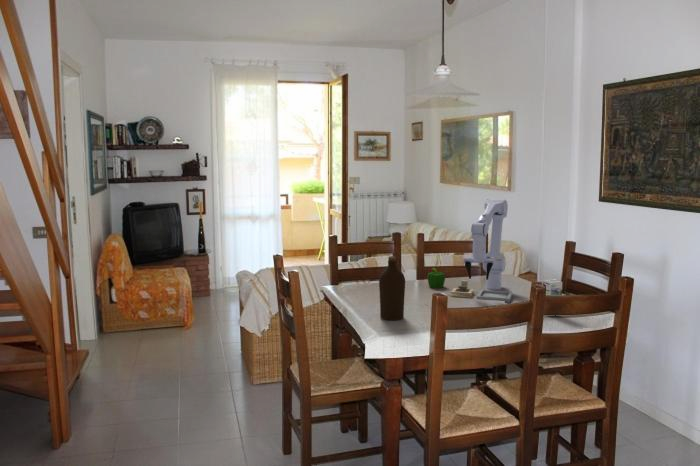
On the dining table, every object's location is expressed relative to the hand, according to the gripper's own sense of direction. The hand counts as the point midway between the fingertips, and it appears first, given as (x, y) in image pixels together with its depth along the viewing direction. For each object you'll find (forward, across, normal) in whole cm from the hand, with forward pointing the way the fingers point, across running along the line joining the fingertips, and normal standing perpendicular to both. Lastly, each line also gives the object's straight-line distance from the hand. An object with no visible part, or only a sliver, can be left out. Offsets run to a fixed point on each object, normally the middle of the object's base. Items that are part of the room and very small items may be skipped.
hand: (478, 278), depth 281 cm
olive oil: (+10, -29, -42) cm, 52 cm away
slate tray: (+10, +7, +5) cm, 13 cm away
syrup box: (+10, +32, -18) cm, 38 cm away
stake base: (+10, -8, +5) cm, 13 cm away
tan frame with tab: (+9, -8, +5) cm, 12 cm away
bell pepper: (+10, -22, +17) cm, 30 cm away
